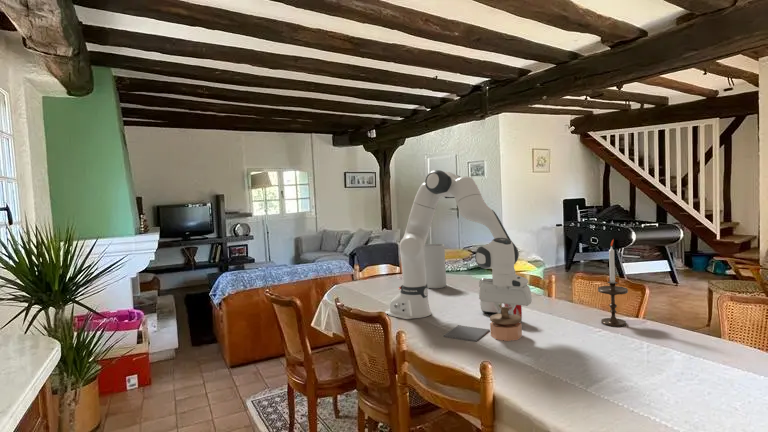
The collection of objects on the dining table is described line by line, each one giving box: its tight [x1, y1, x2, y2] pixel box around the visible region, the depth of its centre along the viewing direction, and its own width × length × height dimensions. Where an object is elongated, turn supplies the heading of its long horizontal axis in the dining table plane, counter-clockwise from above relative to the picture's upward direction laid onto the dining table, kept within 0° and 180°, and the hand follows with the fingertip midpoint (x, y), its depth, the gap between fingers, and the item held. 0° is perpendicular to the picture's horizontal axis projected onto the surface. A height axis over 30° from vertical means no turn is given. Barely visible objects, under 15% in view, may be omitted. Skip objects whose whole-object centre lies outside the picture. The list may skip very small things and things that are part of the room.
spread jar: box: [479, 299, 503, 316], centre depth 211 cm, size 12×11×12 cm
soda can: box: [503, 304, 523, 322], centre depth 194 cm, size 7×7×12 cm
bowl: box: [489, 321, 523, 342], centre depth 177 cm, size 11×11×5 cm
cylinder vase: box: [424, 243, 447, 290], centre depth 268 cm, size 12×12×25 cm
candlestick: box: [597, 239, 629, 328], centre depth 184 cm, size 11×11×35 cm
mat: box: [443, 324, 491, 343], centre depth 183 cm, size 14×14×1 cm
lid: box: [489, 306, 522, 324], centre depth 177 cm, size 12×12×5 cm
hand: (505, 314), depth 177 cm, fingers closed on lid, 3 cm apart
